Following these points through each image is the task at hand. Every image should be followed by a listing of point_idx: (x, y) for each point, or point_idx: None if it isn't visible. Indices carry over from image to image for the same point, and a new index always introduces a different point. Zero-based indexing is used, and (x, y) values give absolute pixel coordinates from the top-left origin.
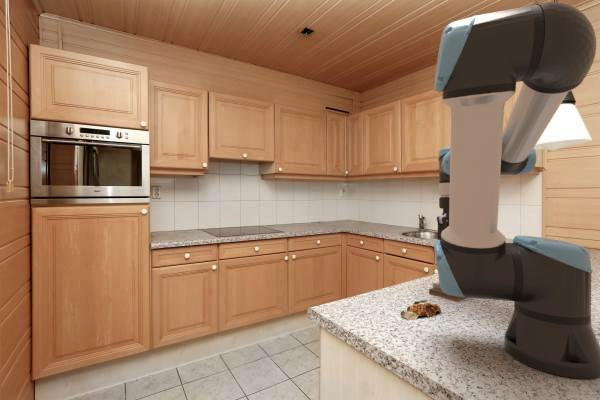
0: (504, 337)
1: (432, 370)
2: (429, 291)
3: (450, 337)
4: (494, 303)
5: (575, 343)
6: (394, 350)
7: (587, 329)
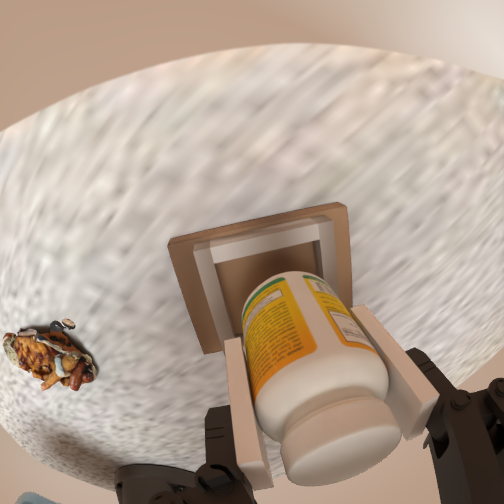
0: (123, 476)
1: (19, 440)
2: (169, 242)
3: (63, 428)
4: None
5: None
6: None
7: None
